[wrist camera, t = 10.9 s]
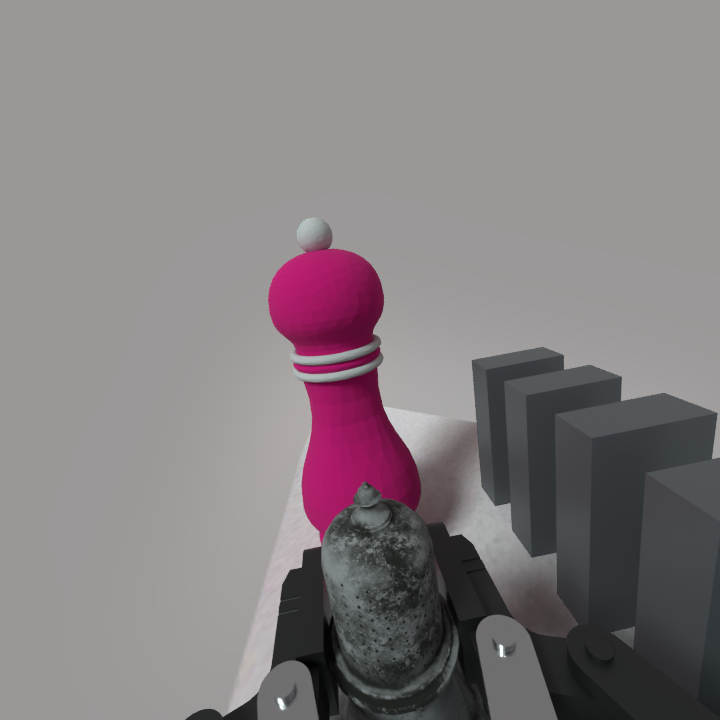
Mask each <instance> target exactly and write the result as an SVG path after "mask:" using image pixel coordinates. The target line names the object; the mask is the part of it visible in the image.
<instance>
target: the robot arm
mask: <svg viewBox="0 0 720 720" xmlns="http://www.w3.org/2000/svg"><path fill="white" fill-rule="evenodd" d="M426 527H427V530H428V532H429V535H430V537H431V539H432V542H433V550H434V558H435V566H436V574H437V582H438V589H439V593H440V594H441V595H442V596H443V597H444V599H445V600H446V601H447V603H448V606H449V608H450V611H451V614H452V617H453V619H454V622H455V625H456V628H457V631H458V634H459V641H460V649H459V656H458V660H459V663H460V666H461V669H462V672H463V675H464V678H465V681H466V684H467V685H470V684H474V683H476V684H477V686H478V689H479V692H480V695H481V697H482V700H483V710H484V717H485V720H720V718H719V717H718V716H716V715H715V714H714V713H713V712H711V711H710V710H709V709H707V708H706V707H705V706H704V705H702V704H701V703H700V702H699V701H697V700H696V699H695V698H694V697H692V696H691V695H690V694H688V693H687V692H686V691H685V690H683V689H682V688H681V687H680V686H678V685H677V684H676V683H674V682H673V681H672V680H671V679H669V678H668V677H667V676H666V675H664V674H663V673H662V672H661V671H659V670H658V669H657V668H655V667H654V666H653V665H652V664H650V663H649V662H648V661H647V660H645V659H644V658H643V657H641V656H640V655H639V654H638V653H636V652H635V651H634V650H633V649H631V648H630V647H629V646H628V645H626V644H625V643H624V642H622V641H621V640H620V639H619V638H617V637H616V636H615V635H613V634H612V633H610V632H609V631H607V630H605V629H603V628H600V627H597V626H594V625H579V626H576V627H574V628H573V629H572V630H571V631H570V632H569V634H568V636H567V638H559V637H551V636H544V635H539V634H536V633H533V632H531V631H529V630H527V629H526V628H524V627H523V626H522V625H521V624H520V623H519V622H517V621H516V620H515V619H514V618H513V617H512V616H511V614H510V612H509V611H508V609H507V607H506V605H505V603H504V601H503V600H502V598H501V596H500V594H499V592H498V590H497V588H496V586H495V585H494V583H493V581H492V579H491V577H490V575H489V573H488V572H487V571H486V568H485V566H484V564H483V562H482V560H480V557H479V555H478V553H477V551H476V549H475V547H474V545H473V544H472V543H471V542H470V541H468V540H467V539H466V538H465V537H464V536H463V535H461V534H460V535H456V536H451V537H450V536H449V534H448V532H447V530H446V527H445V525H444V523H443V522H438V523H433V524H428V525H426ZM321 550H322V546H321V547H317V548H312V549H307V550H304V552H303V562H302V568H298V569H293V570H290V571H289V573H288V575H287V577H286V579H285V581H284V582H283V584H282V591H281V599H280V600H281V603H280V606H279V616H278V621H277V629H276V636H275V644H274V651H273V659H272V666H271V670H270V672H269V673H268V675H267V676H266V677H265V679H264V680H263V682H262V684H261V686H260V689H259V692H258V693H257V694H256V695H255V696H254V697H253V698H252V699H251V700H249V701H248V702H247V703H245V704H244V705H242V706H240V707H239V708H237V709H235V710H234V711H232V712H231V713H229V714H227V715H226V716H224V717H222V716H221V714H220V713H219V712H217V711H216V710H213V709H204V710H200V711H198V712H196V713H194V714H192V715H191V716H189V717H188V718H187V719H186V720H330V716H334V715H339V691H338V684H337V682H336V681H335V679H334V677H333V676H332V673H331V669H330V666H329V656H328V626H329V622H330V619H331V617H332V615H333V613H332V609H331V605H330V600H329V596H328V592H327V587H326V583H325V579H324V574H323V570H322V566H321Z"/></svg>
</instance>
